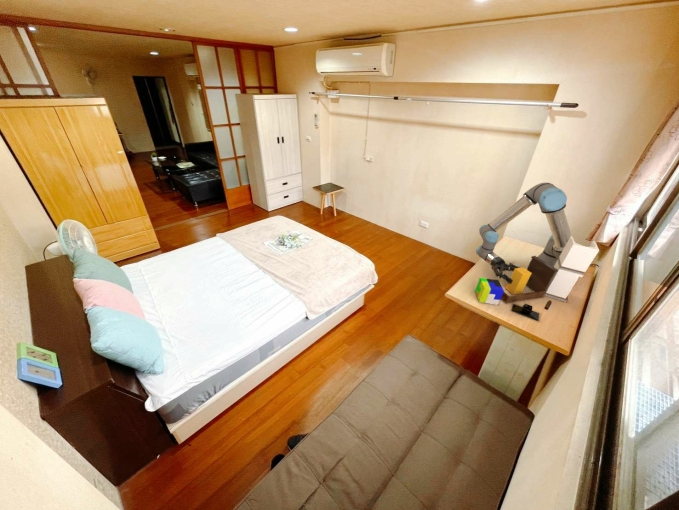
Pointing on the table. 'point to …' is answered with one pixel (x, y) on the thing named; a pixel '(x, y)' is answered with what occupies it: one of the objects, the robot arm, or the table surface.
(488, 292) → the puzzle toy
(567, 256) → the white stepped block
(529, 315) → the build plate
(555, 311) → the table surface
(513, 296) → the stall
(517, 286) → the yellow block
